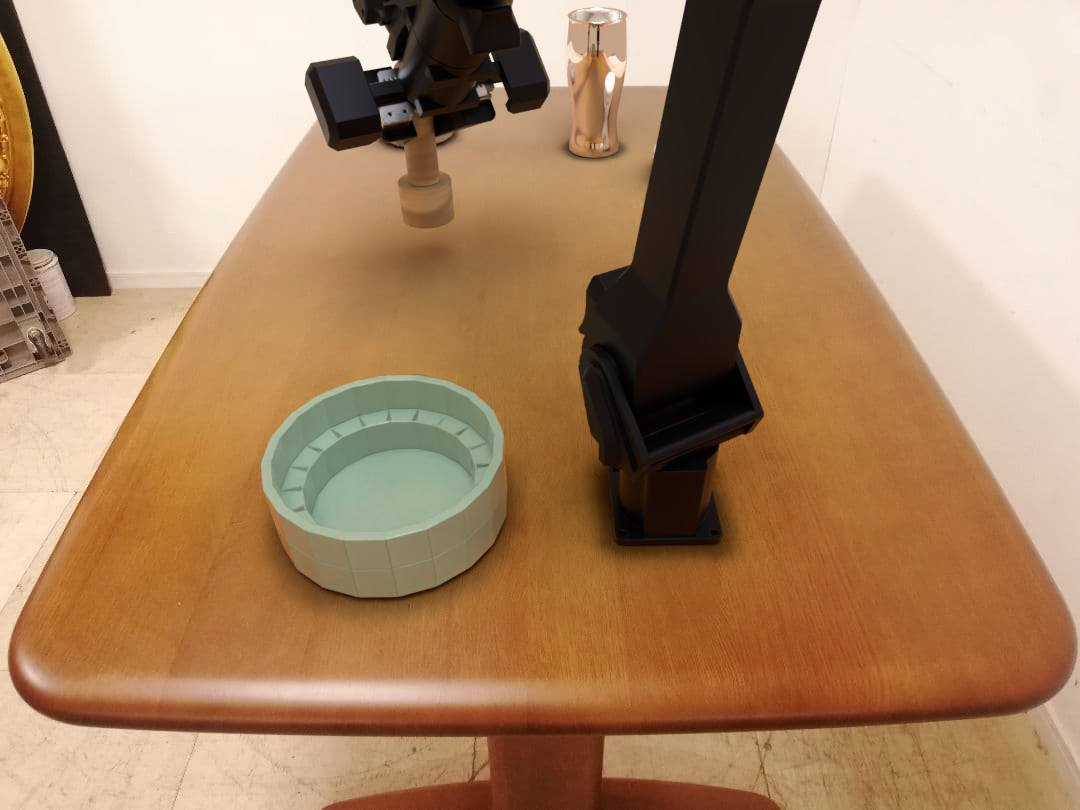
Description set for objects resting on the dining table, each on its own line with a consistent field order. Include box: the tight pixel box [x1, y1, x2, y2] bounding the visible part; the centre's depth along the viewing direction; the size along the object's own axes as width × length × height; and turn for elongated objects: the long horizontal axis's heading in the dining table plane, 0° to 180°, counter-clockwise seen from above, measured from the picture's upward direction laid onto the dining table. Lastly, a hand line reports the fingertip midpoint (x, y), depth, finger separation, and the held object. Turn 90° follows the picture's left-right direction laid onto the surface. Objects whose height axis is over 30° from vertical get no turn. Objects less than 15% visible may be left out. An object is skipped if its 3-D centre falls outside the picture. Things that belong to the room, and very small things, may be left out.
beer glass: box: [565, 6, 629, 159], centre depth 90 cm, size 7×7×15 cm
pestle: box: [392, 61, 455, 230], centre depth 68 cm, size 5×5×14 cm
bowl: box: [260, 374, 508, 598], centre depth 48 cm, size 14×14×6 cm
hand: (413, 137), depth 69 cm, fingers closed on pestle, 3 cm apart
